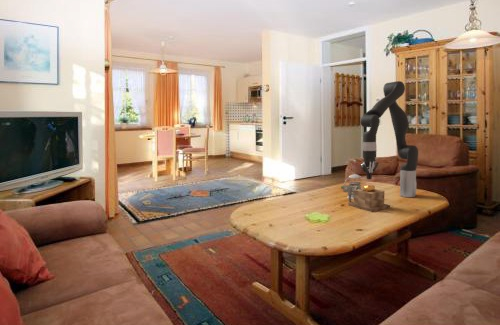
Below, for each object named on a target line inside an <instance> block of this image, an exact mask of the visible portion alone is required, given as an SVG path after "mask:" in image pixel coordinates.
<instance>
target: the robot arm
mask: <svg viewBox="0 0 500 325" xmlns="http://www.w3.org/2000/svg"><path fill="white" fill-rule="evenodd" d="M405 90H406V85H405V83H404V82H403V81H391V82H387V83H385V84H383V95H384V97H382V98H381V99H380V100H378V101H377V102H376V103H375V104H374V105H373V106H372V108H371V109H370V110H368V111H367V112H365V113H364V114H363V115H362V116H361V117H360V119H359V120H360V122H359V123H360V125H361V127H364V128H369V130H367V131H364V132H363V138H362V141H363V142H362V158H363V160H362V163H360V164H359V166H360V169H362V171H363V172H364V173H366V179H367V180H372V178H373V172H375V171H376V169H377V168H378V165H379V162H378V161H376V160H377V159H376V158H377V133H378V129H379V125H380V122H381V120H380V118H381V117H382V116H383V115H384V114H385V113H386V112H387V110H388V111H389V114H390V118H391V123H392V128H393V132H394V136H395V141H396V150H397V154H398V157H399V158H400V159H403V160H406V163H404V164H401V165H400V172H399V177H400V178H399V180H400V181H399V196H400V197H404V198H415V197H416V196H417V185H418V184H417V168H418V167H417V166H418V163H419V162H418V161H419V160H418V159H419V149H418V147H417V145H411V144H407V141H406V135H407V133H408V131H409V128H410V123H409V118H408V115H407V113H406V111H405V110H404V109H402V107H400V105H399V104H398V103H397V100H399V98H400V97H402V96H403V95H404V93H405Z"/></svg>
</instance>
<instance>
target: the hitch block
mask: <svg viewBox="0 0 500 325" xmlns="http://www.w3.org/2000/svg"><path fill="white" fill-rule="evenodd" d="M347 205H348V206H349V207H353V208H356V209H361V210H363V211H366V212H369V213H370V212H371V213H374V212H378V211H382V210H387V209H391V204H387V203H385V190H381V189H376V188H375V191H374V192H366V191H364V188H361V189H358V190H354V199H353V201H351V202H348V204H347Z"/></svg>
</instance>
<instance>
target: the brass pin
mask: <svg viewBox="0 0 500 325" xmlns="http://www.w3.org/2000/svg"><path fill="white" fill-rule="evenodd" d="M375 186H376V185H374V184H364V185H363V189H364V191H366V192H374V191H375V189H376V188H375Z"/></svg>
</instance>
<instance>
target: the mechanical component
mask: <svg viewBox="0 0 500 325" xmlns="http://www.w3.org/2000/svg"><path fill="white" fill-rule="evenodd" d="M346 188H347V189H346ZM340 189H342V192H344V193H347V196H348V195H349V198H348V203H350V202H352V199H351V195H352V193H353V192H354V191H353V190H357V189H358V186H356V187H355V188H353V187H352V186H350V184H348V185H346V184H345V185H344V184H343V185H341V187H340ZM358 190H359V189H358Z"/></svg>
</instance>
